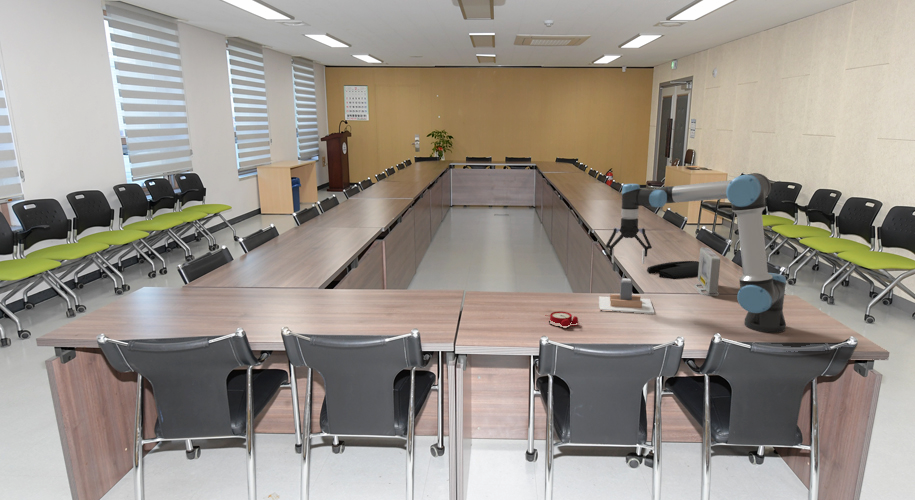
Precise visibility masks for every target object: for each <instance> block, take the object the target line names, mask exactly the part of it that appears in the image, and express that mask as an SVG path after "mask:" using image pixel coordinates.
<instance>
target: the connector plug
mask: <svg viewBox="0 0 915 500" xmlns="http://www.w3.org/2000/svg"><path fill="white" fill-rule="evenodd" d="M619 295H620V300H632V295H633V281H632V280H631V278H625V277H624V278H622V279H620V289H619Z"/></svg>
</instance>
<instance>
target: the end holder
mask: <svg viewBox="0 0 915 500" xmlns="http://www.w3.org/2000/svg"><path fill="white" fill-rule="evenodd" d="M599 308H600V309H602V310H612V311H622V312H621V313H623V312H634V313H633V314H641V313H644V315H645V314H646V315H655V309H654V307H653V304H652V301H651V299H650V298H641V295H636V294H635V295H633V294H632V300H620V294H614V293H613V294H612V293H610V294H609V296H600V295H599V296H598V309H599Z"/></svg>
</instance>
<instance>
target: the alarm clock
mask: <svg viewBox="0 0 915 500" xmlns="http://www.w3.org/2000/svg"><path fill="white" fill-rule="evenodd" d="M572 315H573V314H571V313H570V312H568V311H553V312H551V313H550V315H547V314H545V315H544V316H546V317H550V318H549V320H551V321H553V322H555V323H560V324H561V325H562V326H568V325H570V323H571V322H572V323H571V324H576V323H577V325H570V327H576V326H579V325H580V322H579V318H578V317H577V316H576V315H575V316H572ZM572 317H573V318H572Z"/></svg>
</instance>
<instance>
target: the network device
mask: <svg viewBox="0 0 915 500" xmlns="http://www.w3.org/2000/svg"><path fill="white" fill-rule="evenodd" d="M698 259H699V260H698V262H699V270H698V277H697V281H698V282H699V283H695V284H694V285H693V287H694V288H695V289H696V290H697V292H698V293H699V294H700V295H702V296H709V297H710V296H713V297H714V296H715V297H717V296H719V295H720V293H719V292H718V291H719V290H718V289H719V279H720V268H721V257H720V256H718V254H716V253H715V252H714V251H712V249H710V248H709V247H700V249H699V258H698ZM698 286H699V287H698ZM704 292H705V293H704ZM706 292H707V293H706Z"/></svg>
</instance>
